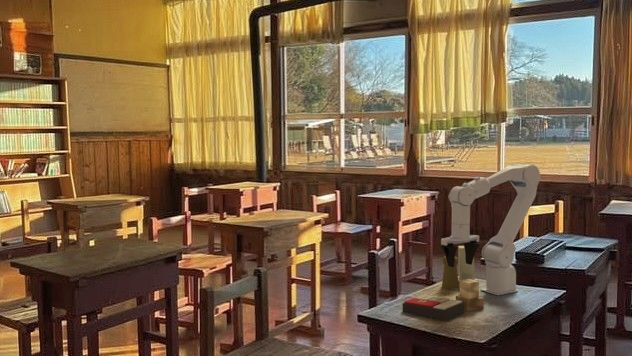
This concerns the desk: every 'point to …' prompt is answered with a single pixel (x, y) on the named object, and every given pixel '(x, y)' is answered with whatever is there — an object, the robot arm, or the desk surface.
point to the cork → (450, 275)
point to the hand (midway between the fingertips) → (460, 265)
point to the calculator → (434, 307)
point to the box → (464, 266)
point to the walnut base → (471, 303)
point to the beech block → (469, 289)
